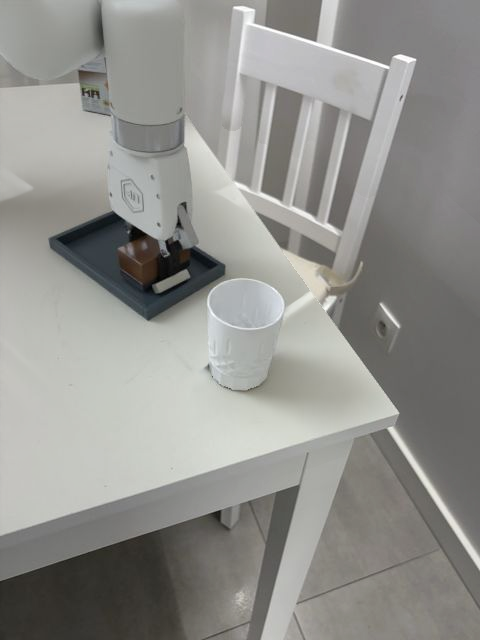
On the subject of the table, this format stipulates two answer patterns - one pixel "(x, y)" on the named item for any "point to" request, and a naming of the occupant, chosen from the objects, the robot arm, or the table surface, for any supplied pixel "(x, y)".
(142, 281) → the eraser
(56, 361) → the table surface
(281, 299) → the white cup
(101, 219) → the tray
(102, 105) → the coffee box
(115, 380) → the table surface
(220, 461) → the table surface
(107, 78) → the robot arm
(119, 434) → the table surface
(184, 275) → the chalk
